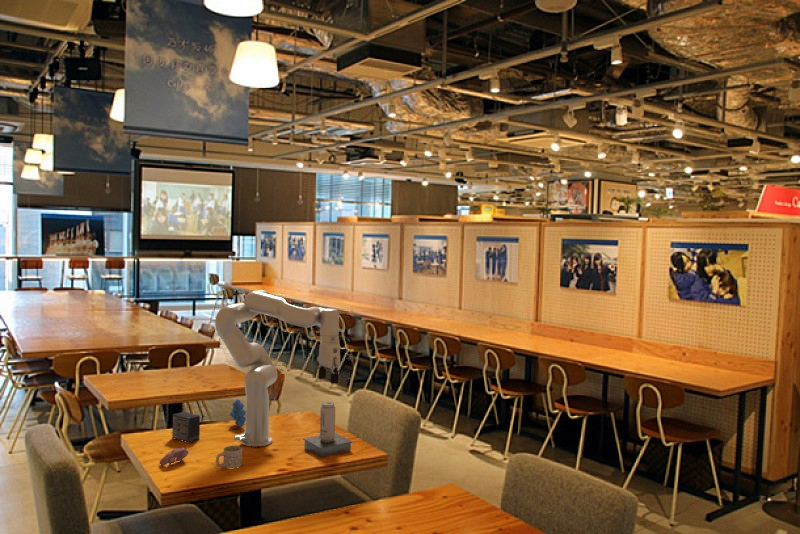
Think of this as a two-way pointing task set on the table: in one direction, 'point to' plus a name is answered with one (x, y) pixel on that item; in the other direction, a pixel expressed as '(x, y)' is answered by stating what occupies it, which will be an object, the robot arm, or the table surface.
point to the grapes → (238, 413)
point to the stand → (327, 445)
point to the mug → (230, 457)
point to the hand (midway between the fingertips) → (328, 380)
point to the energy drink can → (327, 422)
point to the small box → (186, 426)
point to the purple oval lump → (174, 456)
